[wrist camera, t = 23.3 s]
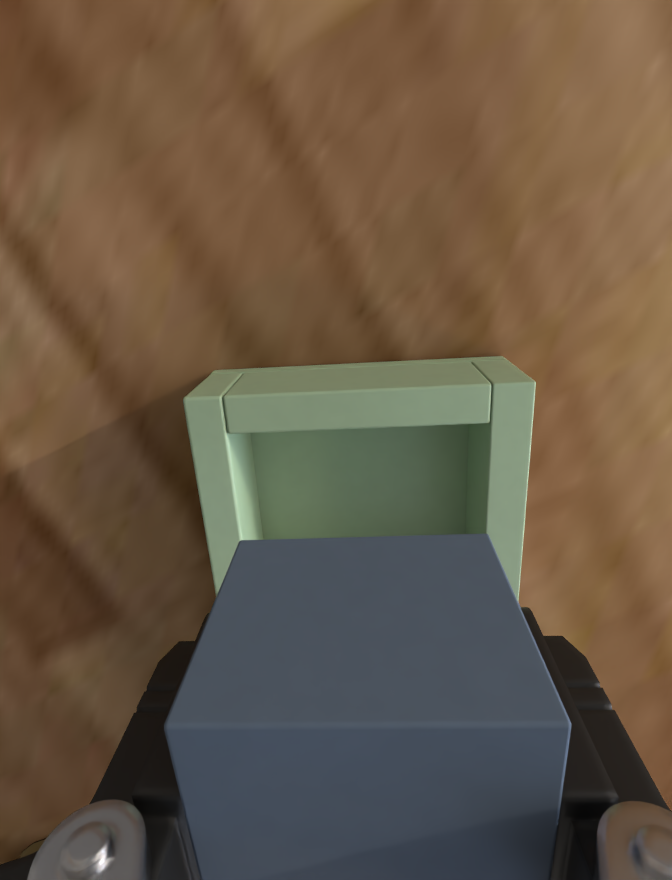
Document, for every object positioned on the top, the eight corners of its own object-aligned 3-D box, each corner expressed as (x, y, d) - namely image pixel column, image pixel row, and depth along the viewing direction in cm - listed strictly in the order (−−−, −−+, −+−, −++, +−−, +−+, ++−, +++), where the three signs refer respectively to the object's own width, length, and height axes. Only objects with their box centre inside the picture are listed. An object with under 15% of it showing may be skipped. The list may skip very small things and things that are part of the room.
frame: (269, 754, 21) (255, 833, 18) (213, 369, 15) (181, 398, 12) (480, 753, 20) (500, 834, 17) (502, 355, 15) (536, 381, 12)
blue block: (265, 720, 11) (217, 958, 7) (238, 538, 10) (160, 726, 6) (479, 720, 11) (540, 966, 7) (488, 531, 9) (574, 725, 6)
